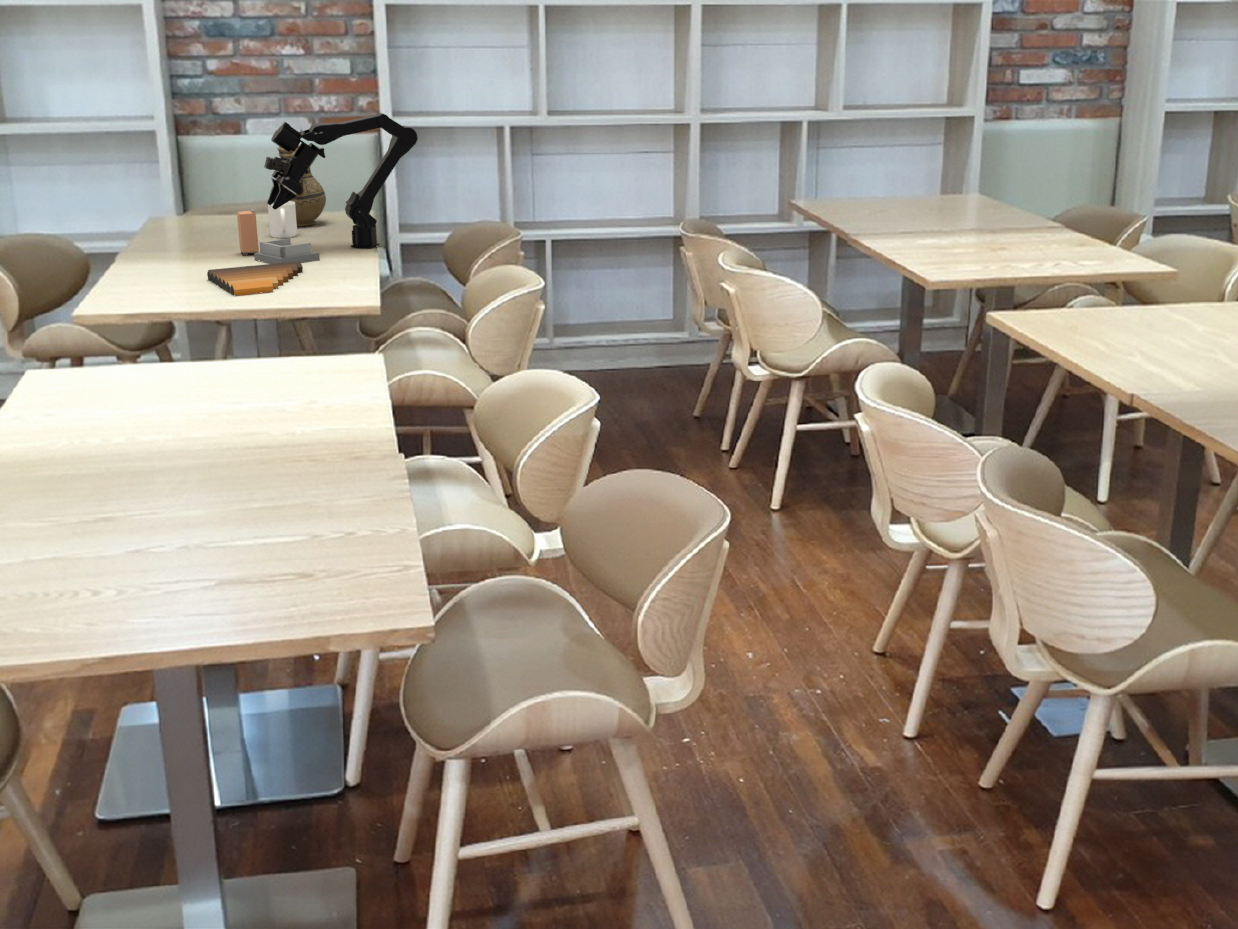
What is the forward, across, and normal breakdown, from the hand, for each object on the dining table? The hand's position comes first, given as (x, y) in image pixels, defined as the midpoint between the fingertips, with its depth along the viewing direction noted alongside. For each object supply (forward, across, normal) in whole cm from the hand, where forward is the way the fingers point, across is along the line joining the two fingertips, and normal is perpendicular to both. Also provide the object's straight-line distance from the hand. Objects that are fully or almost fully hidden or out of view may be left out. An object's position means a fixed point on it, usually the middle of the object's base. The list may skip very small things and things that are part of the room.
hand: (271, 206), depth 411 cm
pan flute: (+16, +45, +2) cm, 48 cm away
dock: (+10, +14, +9) cm, 19 cm away
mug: (+6, -26, +14) cm, 30 cm away
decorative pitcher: (+1, -48, +21) cm, 52 cm away
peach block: (+15, 0, +2) cm, 15 cm away
